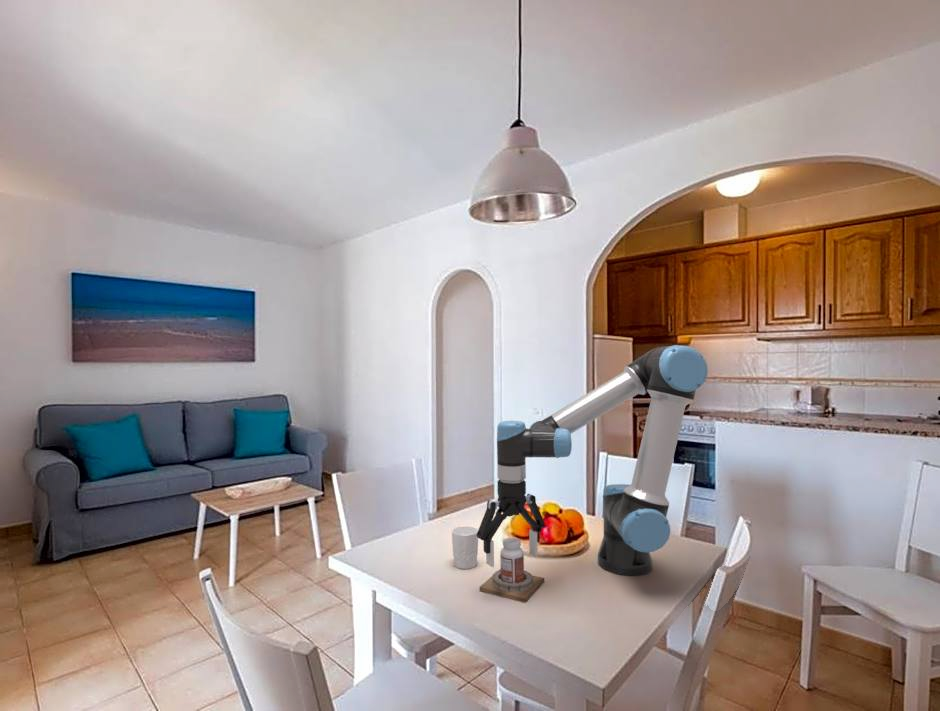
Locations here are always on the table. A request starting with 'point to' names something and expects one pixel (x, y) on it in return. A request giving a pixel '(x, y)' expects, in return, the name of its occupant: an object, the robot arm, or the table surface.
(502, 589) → the socket base
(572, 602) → the table surface
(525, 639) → the table surface
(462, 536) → the white cup
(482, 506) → the table surface
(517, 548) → the pill bottle
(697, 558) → the table surface
